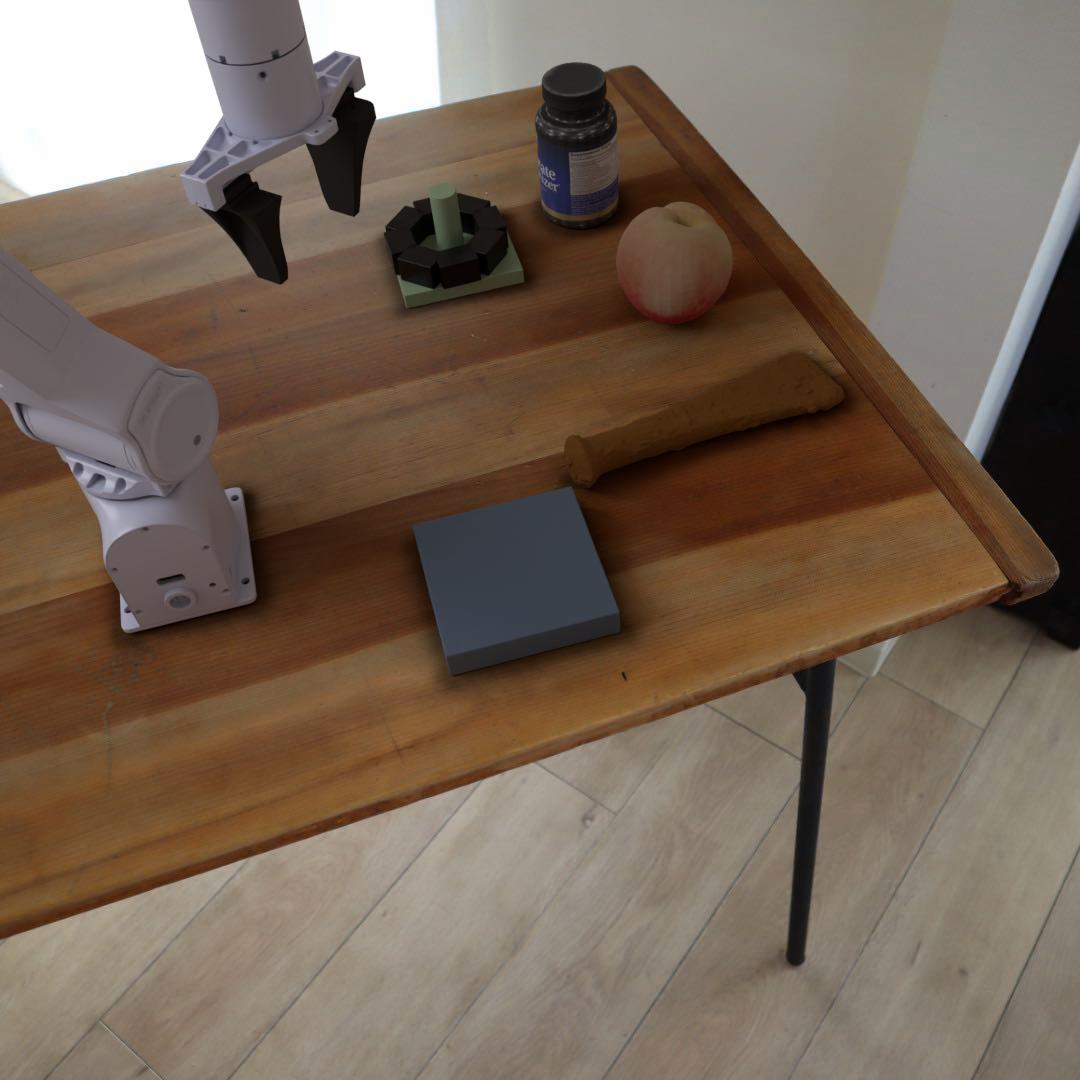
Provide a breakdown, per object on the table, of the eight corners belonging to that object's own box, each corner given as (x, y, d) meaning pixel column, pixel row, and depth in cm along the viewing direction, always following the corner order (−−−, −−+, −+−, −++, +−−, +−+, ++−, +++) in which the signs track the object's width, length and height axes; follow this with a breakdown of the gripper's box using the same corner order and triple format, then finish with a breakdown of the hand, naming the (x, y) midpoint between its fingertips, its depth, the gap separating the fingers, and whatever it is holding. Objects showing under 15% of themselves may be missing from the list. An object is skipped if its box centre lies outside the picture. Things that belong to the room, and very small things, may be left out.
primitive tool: (799, 355, 81) (805, 315, 78) (850, 402, 77) (857, 362, 75) (555, 467, 76) (552, 429, 73) (599, 522, 73) (597, 485, 70)
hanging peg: (524, 282, 88) (517, 212, 83) (406, 308, 87) (392, 239, 82) (496, 214, 94) (488, 145, 89) (386, 238, 93) (371, 169, 88)
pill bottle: (532, 196, 95) (520, 66, 86) (604, 178, 96) (599, 48, 87) (556, 239, 91) (546, 108, 82) (630, 220, 92) (628, 89, 83)
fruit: (751, 320, 83) (759, 225, 77) (651, 359, 81) (651, 265, 75) (694, 260, 88) (697, 166, 82) (599, 295, 86) (594, 202, 80)
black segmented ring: (520, 271, 87) (517, 248, 85) (404, 299, 86) (400, 277, 84) (488, 205, 92) (485, 183, 91) (379, 232, 91) (374, 210, 90)
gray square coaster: (620, 632, 67) (620, 612, 66) (450, 676, 66) (445, 657, 65) (573, 506, 73) (571, 485, 72) (417, 545, 72) (412, 524, 71)
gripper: (225, 121, 60) (288, 328, 70) (388, -7, 67) (423, 197, 78) (123, 92, 62) (199, 295, 73) (291, -28, 70) (338, 172, 80)
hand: (309, 243), depth 75 cm, fingers open, 7 cm apart
